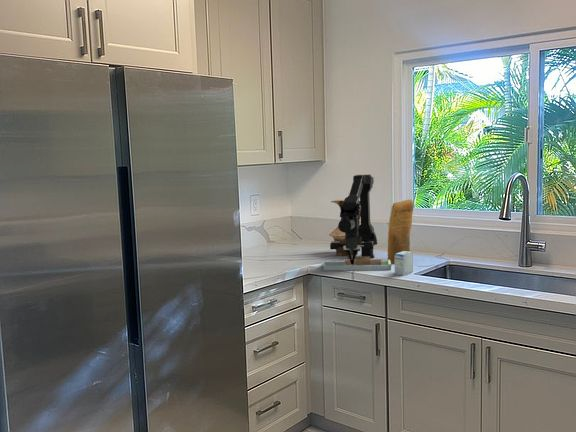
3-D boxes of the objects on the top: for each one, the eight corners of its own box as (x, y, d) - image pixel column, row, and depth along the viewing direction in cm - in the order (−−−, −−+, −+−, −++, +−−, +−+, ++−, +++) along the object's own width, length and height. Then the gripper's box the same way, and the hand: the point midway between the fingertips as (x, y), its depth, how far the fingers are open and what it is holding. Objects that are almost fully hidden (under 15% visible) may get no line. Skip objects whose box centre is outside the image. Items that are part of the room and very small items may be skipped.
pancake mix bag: (419, 259, 268) (418, 199, 265) (393, 265, 255) (392, 202, 252) (407, 257, 273) (406, 198, 270) (381, 263, 260) (380, 202, 257)
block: (356, 266, 256) (356, 256, 255) (370, 266, 255) (370, 256, 255) (356, 269, 251) (356, 258, 250) (370, 268, 250) (370, 258, 250)
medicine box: (403, 271, 244) (403, 250, 243) (413, 272, 241) (413, 251, 240) (394, 274, 238) (394, 253, 237) (404, 275, 235) (403, 254, 234)
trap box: (323, 264, 264) (323, 258, 264) (389, 263, 260) (389, 258, 260) (321, 270, 251) (320, 264, 250) (391, 269, 247) (390, 264, 246)
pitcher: (364, 250, 295) (363, 196, 292) (365, 257, 278) (364, 199, 275) (329, 251, 296) (328, 197, 293) (329, 257, 280) (327, 200, 277)
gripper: (328, 232, 245) (329, 268, 247) (373, 231, 243) (373, 268, 244) (330, 228, 256) (331, 263, 258) (373, 228, 254) (373, 263, 255)
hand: (352, 264), depth 254 cm, fingers closed
